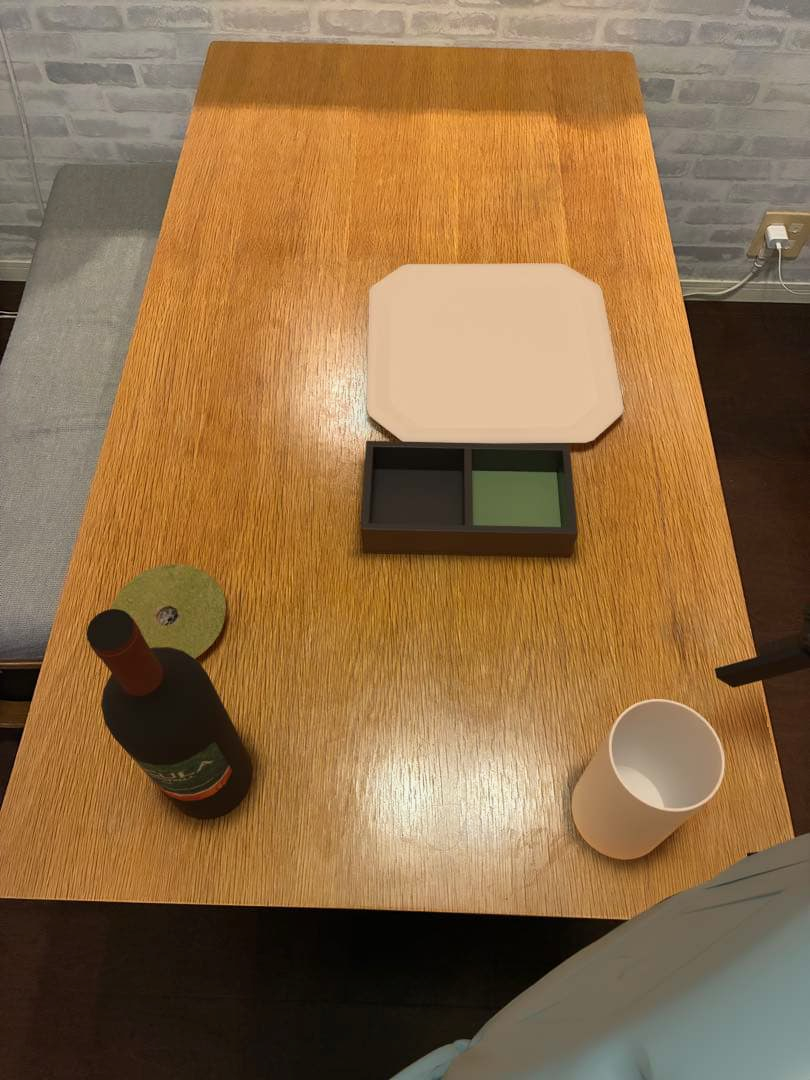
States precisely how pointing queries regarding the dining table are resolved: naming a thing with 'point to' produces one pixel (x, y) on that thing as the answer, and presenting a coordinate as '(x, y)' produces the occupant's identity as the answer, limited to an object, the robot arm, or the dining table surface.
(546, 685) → the dining table surface
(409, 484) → the holder
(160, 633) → the mat
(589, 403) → the plate
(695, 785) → the cup
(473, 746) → the dining table surface
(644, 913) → the robot arm
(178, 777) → the wine bottle
